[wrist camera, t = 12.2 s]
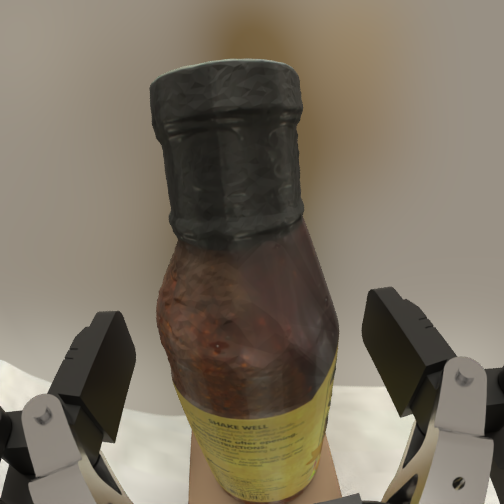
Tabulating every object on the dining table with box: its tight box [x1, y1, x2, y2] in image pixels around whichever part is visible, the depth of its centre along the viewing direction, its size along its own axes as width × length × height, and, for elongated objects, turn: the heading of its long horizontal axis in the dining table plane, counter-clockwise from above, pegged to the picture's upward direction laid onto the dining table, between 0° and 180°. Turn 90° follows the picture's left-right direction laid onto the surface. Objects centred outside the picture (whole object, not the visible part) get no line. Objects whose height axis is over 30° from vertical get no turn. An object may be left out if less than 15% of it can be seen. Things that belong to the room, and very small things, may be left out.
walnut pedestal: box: [188, 431, 342, 504], centre depth 17 cm, size 11×11×8 cm
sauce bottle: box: [150, 59, 339, 504], centre depth 11 cm, size 7×6×20 cm
